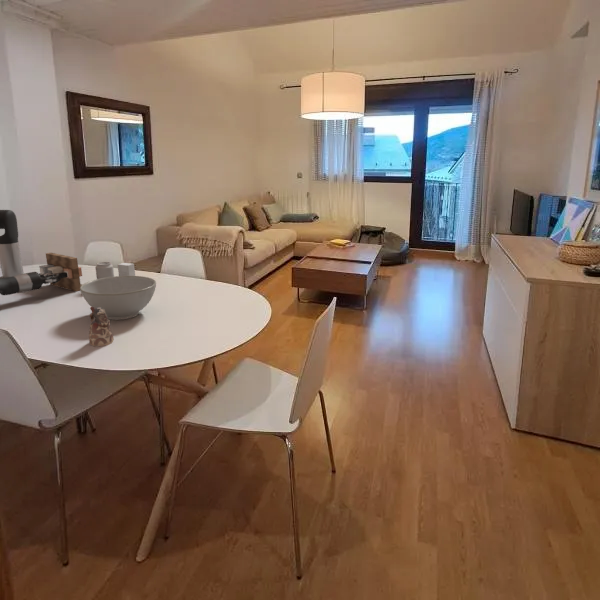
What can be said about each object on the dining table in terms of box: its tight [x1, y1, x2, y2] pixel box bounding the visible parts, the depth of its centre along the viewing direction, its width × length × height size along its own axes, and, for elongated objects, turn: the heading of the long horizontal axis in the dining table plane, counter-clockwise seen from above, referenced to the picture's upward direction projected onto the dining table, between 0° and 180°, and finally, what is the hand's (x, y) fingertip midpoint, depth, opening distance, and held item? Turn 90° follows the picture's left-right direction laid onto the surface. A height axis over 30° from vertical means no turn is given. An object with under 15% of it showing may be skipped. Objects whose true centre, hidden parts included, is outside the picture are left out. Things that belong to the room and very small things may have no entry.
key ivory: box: [48, 266, 63, 273], centre depth 206 cm, size 4×6×4 cm, turn 147°
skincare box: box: [117, 262, 136, 276], centre depth 207 cm, size 6×4×12 cm
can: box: [95, 261, 115, 279], centre depth 209 cm, size 8×8×12 cm
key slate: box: [38, 264, 54, 274], centre depth 210 cm, size 4×6×4 cm, turn 147°
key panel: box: [45, 252, 83, 292], centre depth 210 cm, size 21×6×15 cm, turn 57°
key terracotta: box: [64, 266, 83, 279], centre depth 205 cm, size 4×6×4 cm, turn 147°
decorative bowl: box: [79, 275, 157, 321], centre depth 173 cm, size 27×27×12 cm
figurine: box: [88, 306, 115, 347], centre depth 146 cm, size 7×7×12 cm
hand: (66, 274), depth 202 cm, fingers closed
